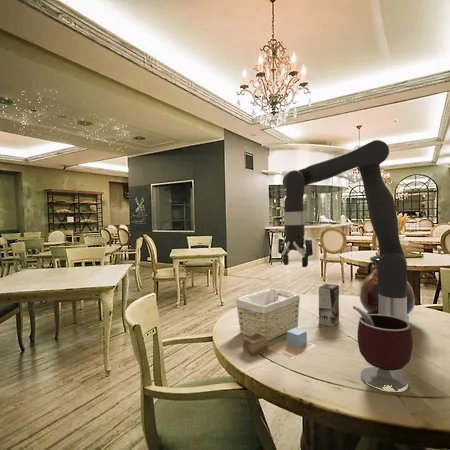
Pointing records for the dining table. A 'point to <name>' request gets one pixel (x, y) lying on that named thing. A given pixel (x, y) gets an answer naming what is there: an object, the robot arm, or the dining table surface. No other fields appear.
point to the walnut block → (255, 344)
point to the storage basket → (268, 313)
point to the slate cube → (296, 338)
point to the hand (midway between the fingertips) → (295, 265)
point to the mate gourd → (384, 348)
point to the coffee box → (328, 304)
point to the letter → (290, 349)
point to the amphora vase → (371, 292)
